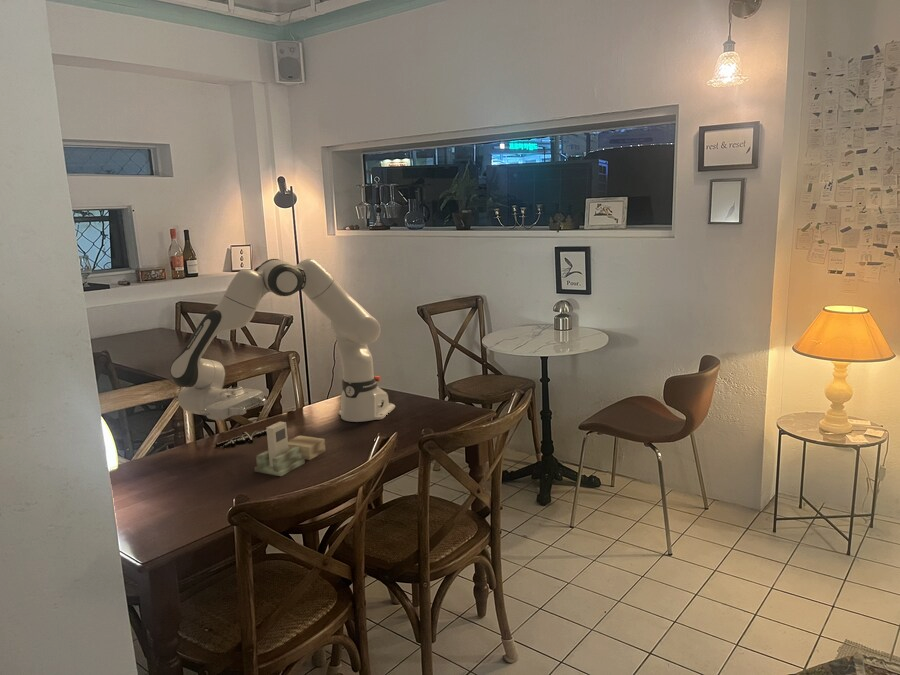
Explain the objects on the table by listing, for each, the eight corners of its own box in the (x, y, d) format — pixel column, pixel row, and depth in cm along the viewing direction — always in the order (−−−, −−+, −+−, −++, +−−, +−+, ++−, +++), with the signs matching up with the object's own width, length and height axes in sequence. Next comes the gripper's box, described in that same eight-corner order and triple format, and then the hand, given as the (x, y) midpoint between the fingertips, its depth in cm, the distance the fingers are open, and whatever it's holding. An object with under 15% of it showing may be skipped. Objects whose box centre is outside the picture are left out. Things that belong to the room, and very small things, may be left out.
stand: (300, 447, 220) (299, 435, 219) (325, 451, 215) (324, 439, 214) (284, 455, 213) (283, 443, 212) (310, 459, 208) (309, 447, 207)
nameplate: (278, 420, 245) (296, 424, 239) (278, 424, 245) (296, 428, 239) (210, 442, 223) (228, 448, 217) (211, 447, 224) (229, 453, 218)
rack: (278, 458, 210) (277, 443, 209) (304, 462, 206) (303, 447, 205) (254, 471, 201) (252, 455, 200) (281, 476, 196) (279, 460, 195)
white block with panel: (283, 459, 206) (279, 421, 204) (289, 460, 205) (286, 422, 203) (269, 466, 201) (266, 427, 199) (276, 467, 200) (273, 428, 198)
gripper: (195, 403, 207) (229, 407, 201) (242, 384, 225) (275, 388, 219) (198, 423, 208) (232, 427, 202) (244, 403, 226) (277, 406, 220)
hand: (255, 406), depth 211 cm, fingers open, 8 cm apart
